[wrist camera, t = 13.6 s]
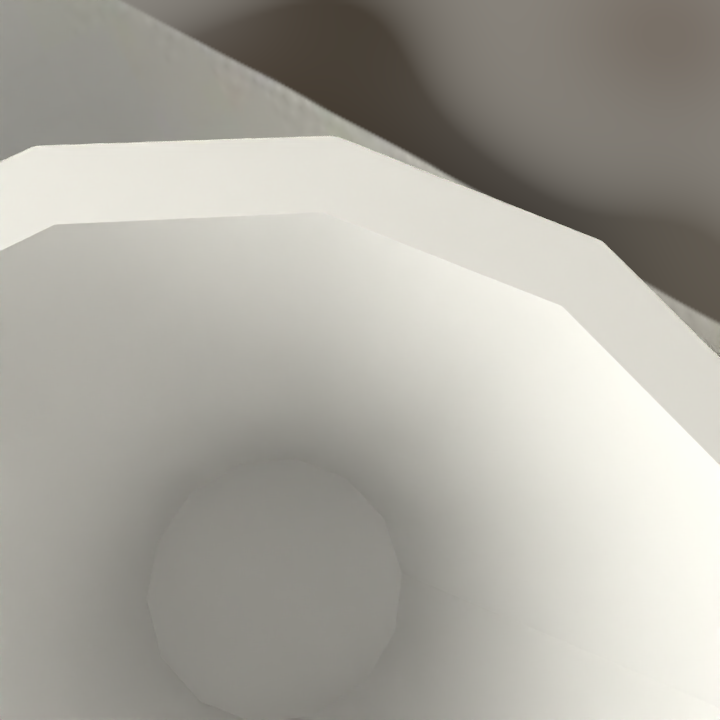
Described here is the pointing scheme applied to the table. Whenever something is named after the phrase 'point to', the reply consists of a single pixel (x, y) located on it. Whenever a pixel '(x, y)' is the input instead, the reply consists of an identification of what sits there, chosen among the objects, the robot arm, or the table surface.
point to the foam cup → (340, 449)
